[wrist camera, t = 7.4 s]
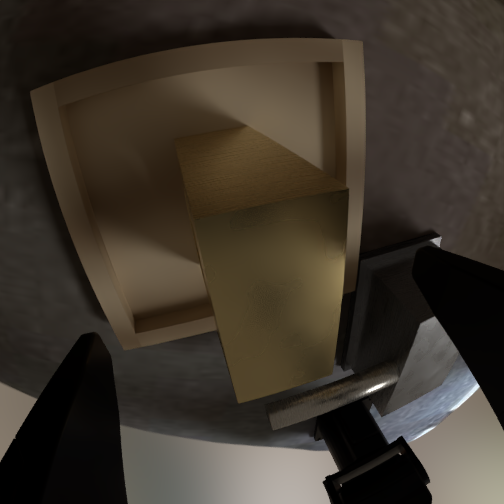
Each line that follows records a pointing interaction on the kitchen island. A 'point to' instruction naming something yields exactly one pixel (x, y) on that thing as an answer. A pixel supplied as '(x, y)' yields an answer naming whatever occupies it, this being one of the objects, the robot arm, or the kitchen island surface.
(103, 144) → the tray
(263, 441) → the kitchen island surface
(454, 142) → the kitchen island surface
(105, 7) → the kitchen island surface
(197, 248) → the wooden block
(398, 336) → the vise block
